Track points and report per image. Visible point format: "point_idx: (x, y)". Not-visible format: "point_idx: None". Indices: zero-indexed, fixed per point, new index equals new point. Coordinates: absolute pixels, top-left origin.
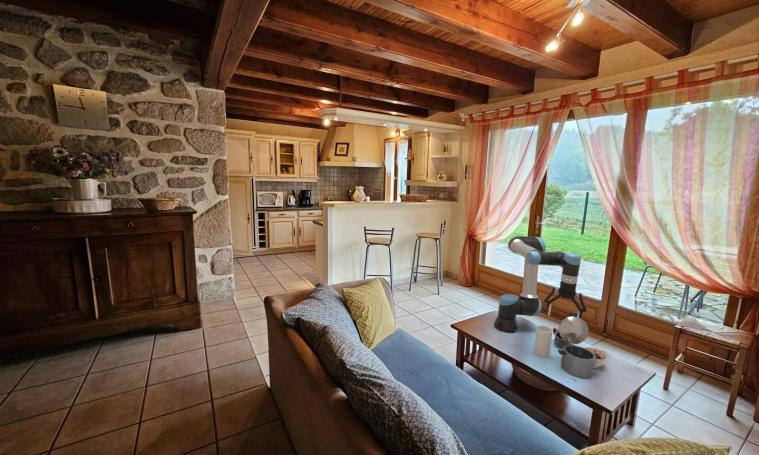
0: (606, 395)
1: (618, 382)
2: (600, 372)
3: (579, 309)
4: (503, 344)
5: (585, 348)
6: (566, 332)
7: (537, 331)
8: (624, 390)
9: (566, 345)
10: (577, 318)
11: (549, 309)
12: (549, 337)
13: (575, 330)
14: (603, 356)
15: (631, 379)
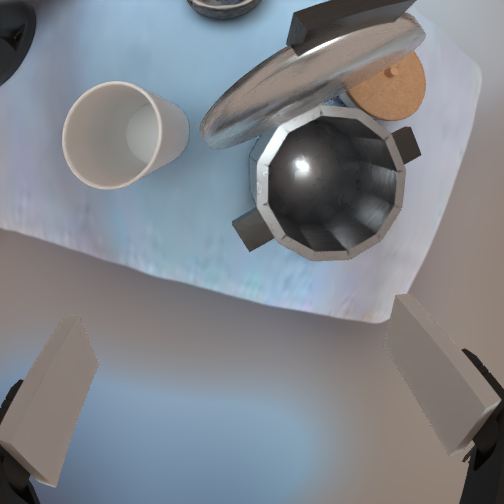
0: (391, 274)
1: (430, 165)
2: (386, 128)
3: (476, 479)
4: (26, 188)
5: (362, 111)
6: (264, 123)
7: (83, 167)
8: (438, 206)
9: (267, 146)
10: (414, 386)
11: (65, 426)
12: (161, 160)
13: (330, 84)
14: (419, 97)
15: (458, 118)
